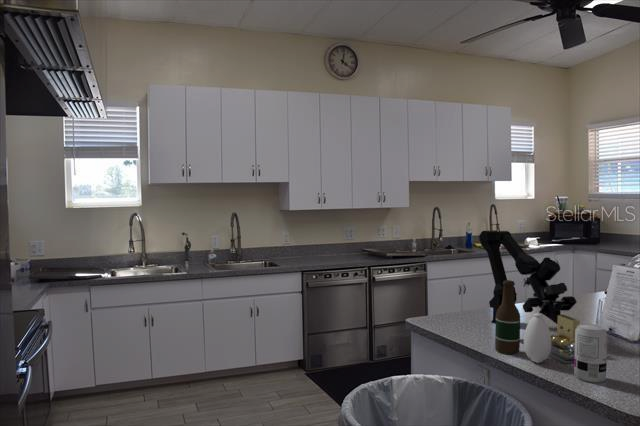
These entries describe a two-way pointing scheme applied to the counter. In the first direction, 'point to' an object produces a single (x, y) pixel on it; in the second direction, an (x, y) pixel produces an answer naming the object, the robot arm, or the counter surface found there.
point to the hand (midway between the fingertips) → (560, 324)
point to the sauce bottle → (537, 338)
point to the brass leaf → (565, 331)
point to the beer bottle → (507, 322)
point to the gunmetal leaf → (565, 352)
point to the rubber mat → (553, 347)
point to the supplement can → (590, 353)
